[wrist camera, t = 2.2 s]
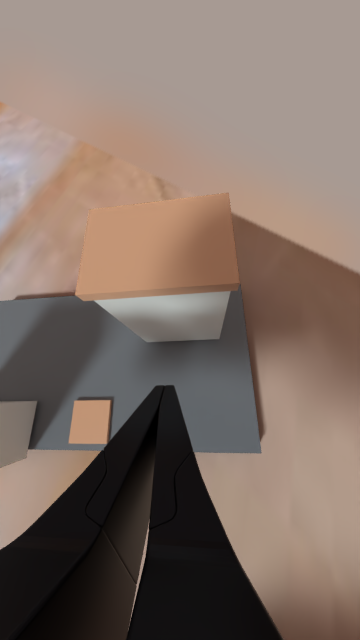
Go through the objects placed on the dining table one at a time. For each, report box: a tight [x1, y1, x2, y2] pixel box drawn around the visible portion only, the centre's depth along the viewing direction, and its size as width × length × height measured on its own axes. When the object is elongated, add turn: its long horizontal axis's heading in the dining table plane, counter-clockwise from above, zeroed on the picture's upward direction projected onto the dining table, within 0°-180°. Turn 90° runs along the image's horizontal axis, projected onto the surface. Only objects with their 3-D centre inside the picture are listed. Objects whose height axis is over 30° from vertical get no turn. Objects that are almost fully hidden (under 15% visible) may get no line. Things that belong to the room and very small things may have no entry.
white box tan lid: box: [75, 193, 240, 342], centre depth 13 cm, size 4×6×10 cm
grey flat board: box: [0, 284, 261, 453], centre depth 18 cm, size 13×24×2 cm, turn 91°
